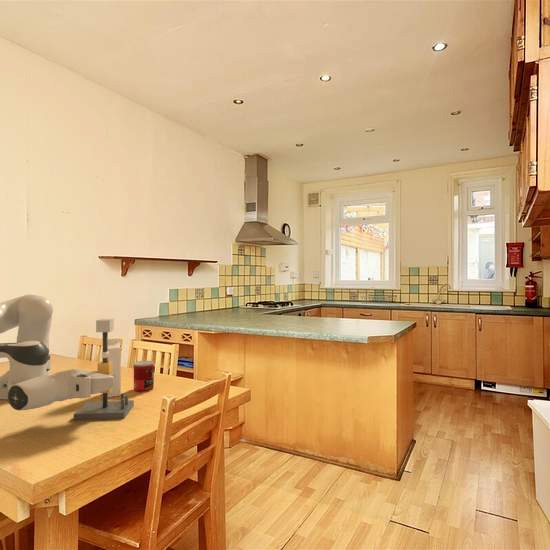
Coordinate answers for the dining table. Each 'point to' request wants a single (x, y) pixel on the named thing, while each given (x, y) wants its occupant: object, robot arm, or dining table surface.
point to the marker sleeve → (105, 371)
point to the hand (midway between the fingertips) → (107, 374)
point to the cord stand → (105, 407)
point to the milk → (115, 365)
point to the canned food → (143, 376)
